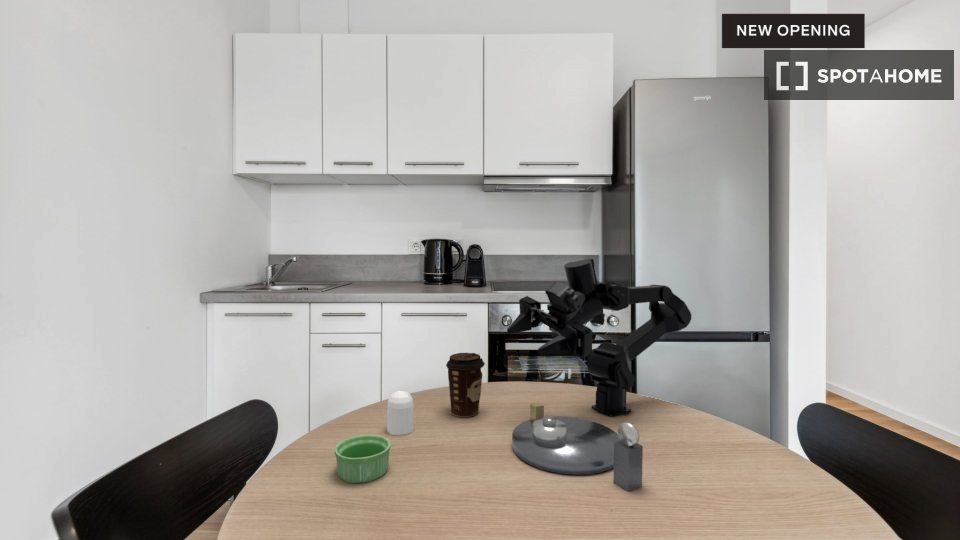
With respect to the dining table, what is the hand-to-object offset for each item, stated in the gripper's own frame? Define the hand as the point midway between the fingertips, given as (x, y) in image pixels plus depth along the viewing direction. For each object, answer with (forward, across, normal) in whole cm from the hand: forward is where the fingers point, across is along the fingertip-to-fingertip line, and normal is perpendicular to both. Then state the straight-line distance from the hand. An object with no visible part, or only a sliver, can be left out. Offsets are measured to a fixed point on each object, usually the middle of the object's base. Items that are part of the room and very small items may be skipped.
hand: (522, 341), depth 86 cm
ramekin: (+35, 0, +10) cm, 36 cm away
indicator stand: (+3, +28, +12) cm, 30 cm away
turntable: (+2, +14, +16) cm, 21 cm away
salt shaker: (+24, -11, +17) cm, 31 cm away
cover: (+5, +13, +13) cm, 19 cm away
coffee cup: (+8, -11, +21) cm, 26 cm away
